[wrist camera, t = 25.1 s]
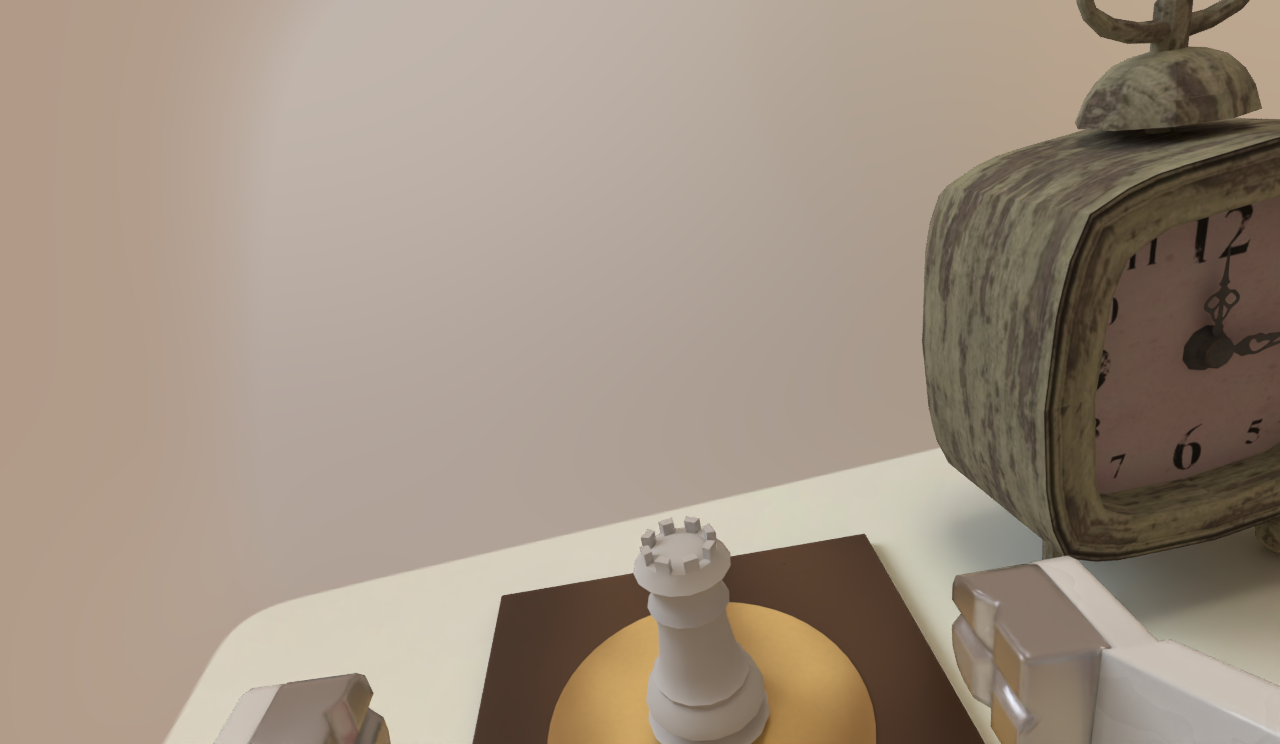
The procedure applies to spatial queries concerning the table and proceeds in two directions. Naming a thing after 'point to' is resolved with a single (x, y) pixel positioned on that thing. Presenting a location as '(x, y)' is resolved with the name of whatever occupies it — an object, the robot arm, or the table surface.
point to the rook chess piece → (696, 642)
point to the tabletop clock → (1119, 308)
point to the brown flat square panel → (766, 629)
